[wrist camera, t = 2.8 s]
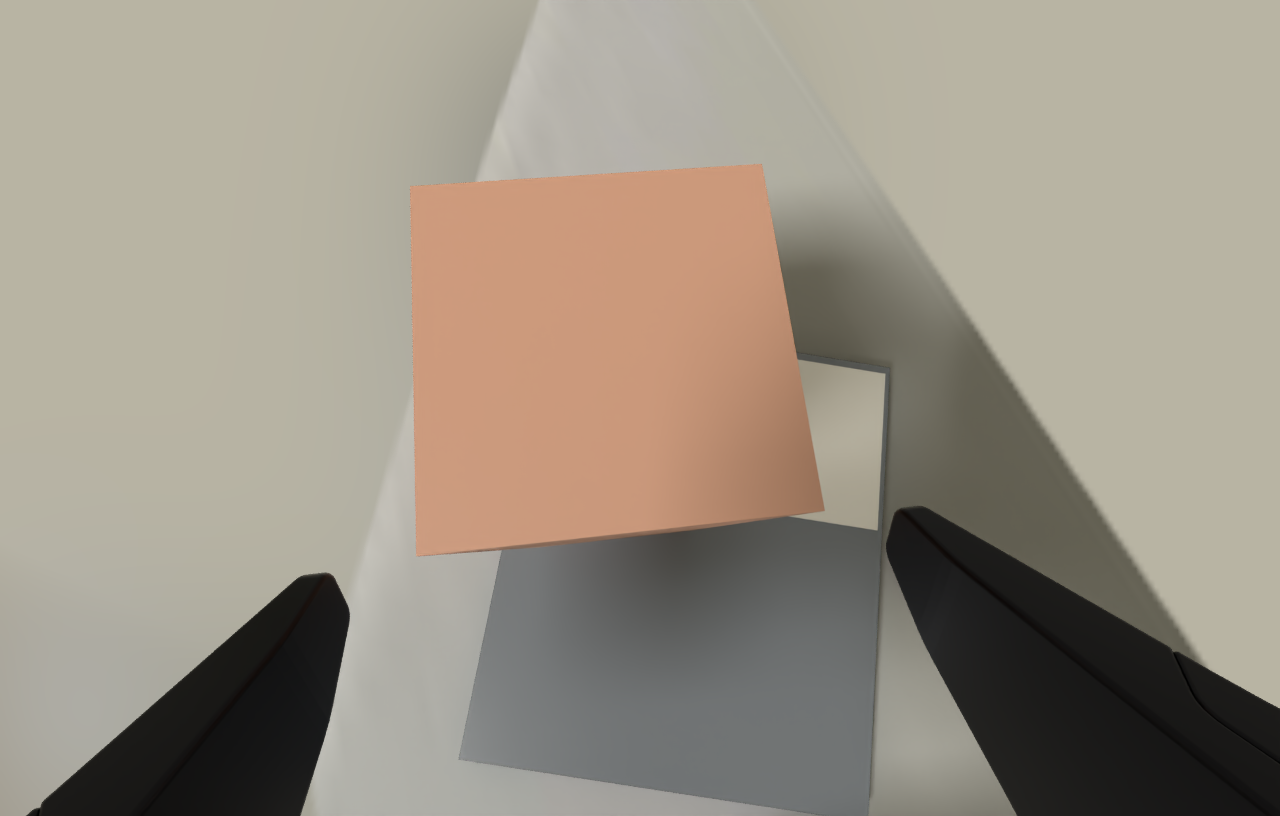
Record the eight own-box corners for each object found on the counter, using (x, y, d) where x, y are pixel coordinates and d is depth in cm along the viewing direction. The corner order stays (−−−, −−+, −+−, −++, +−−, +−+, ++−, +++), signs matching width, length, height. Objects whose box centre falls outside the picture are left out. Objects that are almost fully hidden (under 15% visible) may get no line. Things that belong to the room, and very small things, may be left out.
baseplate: (859, 812, 17) (869, 823, 17) (463, 752, 17) (457, 761, 17) (881, 372, 21) (891, 366, 20) (552, 318, 21) (550, 311, 20)
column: (691, 530, 19) (825, 511, 7) (540, 547, 18) (416, 555, 7) (673, 386, 20) (761, 163, 8) (531, 399, 19) (410, 186, 8)
